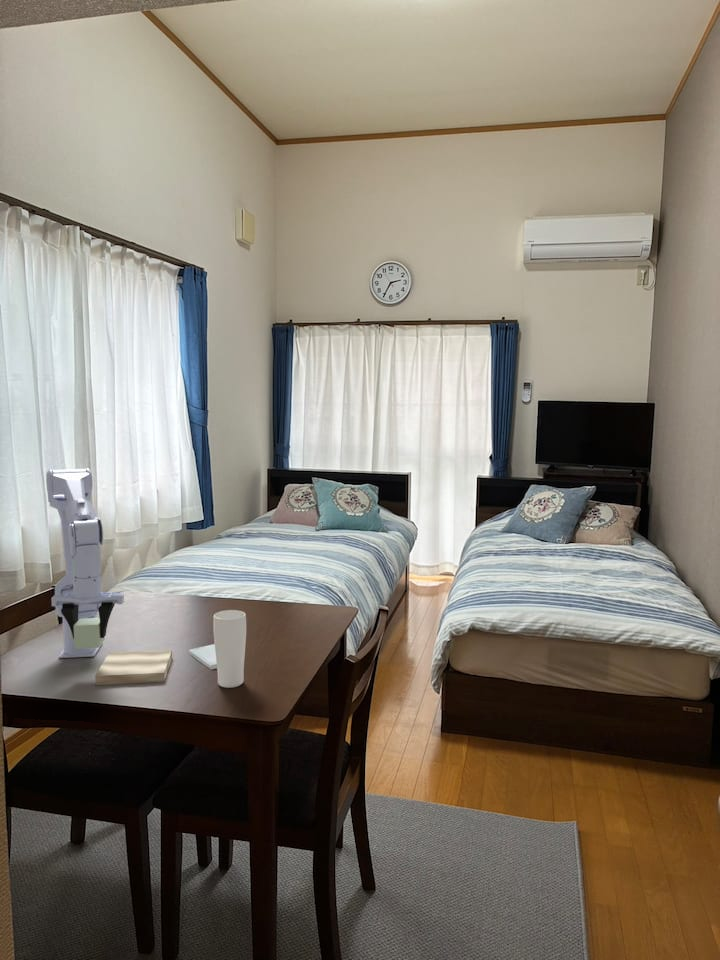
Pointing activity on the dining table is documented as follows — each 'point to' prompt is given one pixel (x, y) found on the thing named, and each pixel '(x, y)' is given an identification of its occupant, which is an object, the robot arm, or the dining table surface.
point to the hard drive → (205, 655)
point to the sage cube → (87, 633)
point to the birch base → (134, 667)
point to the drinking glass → (230, 646)
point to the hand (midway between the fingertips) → (89, 636)
